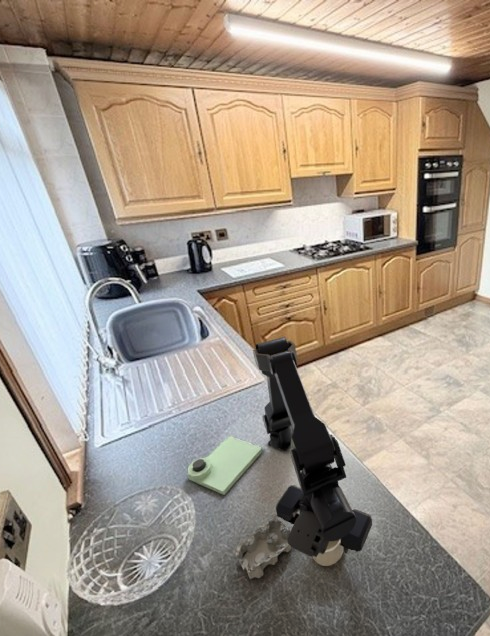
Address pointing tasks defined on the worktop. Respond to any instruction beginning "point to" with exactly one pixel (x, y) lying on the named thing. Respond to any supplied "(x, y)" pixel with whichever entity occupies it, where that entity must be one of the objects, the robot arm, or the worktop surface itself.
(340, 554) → the cup
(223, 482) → the scale
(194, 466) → the button
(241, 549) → the egg carton
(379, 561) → the worktop surface
